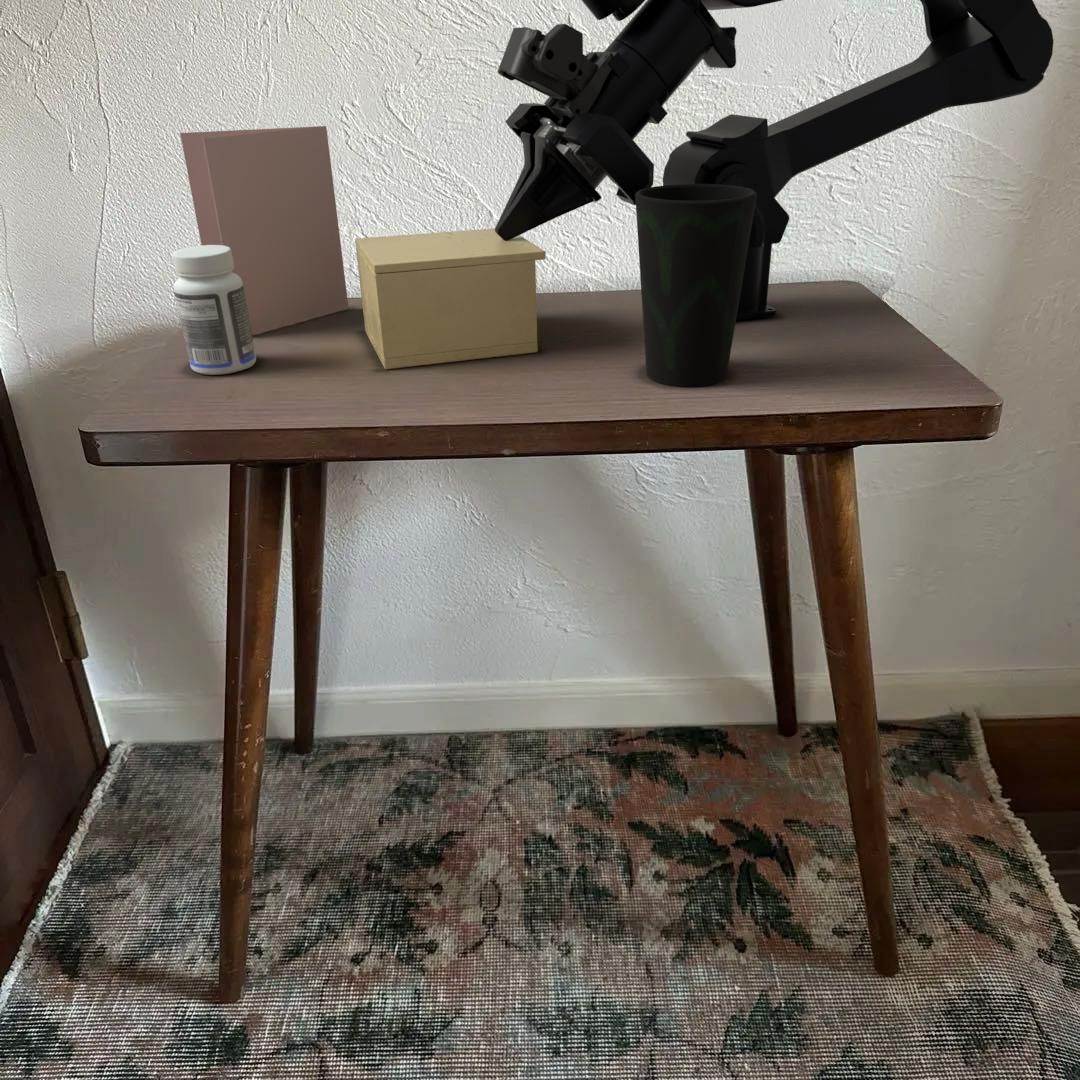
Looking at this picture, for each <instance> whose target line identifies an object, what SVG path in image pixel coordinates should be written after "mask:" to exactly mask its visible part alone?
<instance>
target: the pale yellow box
mask: <svg viewBox="0 0 1080 1080" xmlns="http://www.w3.org/2000/svg"><path fill="white" fill-rule="evenodd" d="M355 249H356V250H355V252H356V261H357V269H358V279H359V287H360V295H361V296H360V297H361V306H362V312H363V313H362V314H363V322H364V330H365V334H366V335H367V337H368V339H369V341H370V343H371V345H372V347H373V349H374V351H375V353H376V355H377V356H378V359H379V360H380V362H381V364H382V366H383V368H384V370H393V369H401V368H410V367H419V366H427V365H428V366H429V365H436V364H437V365H438V364H444V363H454V362H462V361H463V362H464V361H471V360H480V359H488V358H497V357H499V358H500V357H507V356H516V355H525V354H532V353H533V354H534V353H538V351H539V350H538V318H537V317H538V313H537V312H538V311H537V310H538V309H537V276H536V274H537V273H536V260H532V261H520V262H508V263H496V264H484V265H472V266H460V267H448V268H436V269H424V270H412V271H400V272H388V273H376V274H375V273H374V271H373V270H372V269H371V267H370V266H369V264H368V263H367V261H366V260H365V259H364V257H363V256H362V254H361V253H360V251H359V250H358V248H357V247H356V246H355Z"/></svg>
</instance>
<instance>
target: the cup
mask: <svg viewBox="0 0 1080 1080" xmlns="http://www.w3.org/2000/svg"><path fill="white" fill-rule="evenodd" d="M756 197H757V194H756V193H755V191H754V190H752V189H749V188H745V187H739V186H731V185H719V184H678V185H664V186H663V185H657V186H652V187H650V188H645V189H642V190H639V191H638V192H637V193H636V194H635V200H636V205H635V215H636V228H637V229H636V230H637V245H638V260H639V274H640V276H639V277H640V291H641V292H640V293H641V306H642V308H641V309H642V323H643V337H644V340H643V341H644V355H645V372H646V377H648V379H650V380H651V381H653V382H656V383H658V384H661V385H666V386H672V387H681V388H682V387H683V388H688V387H689V388H696V387H705V386H710V385H715V384H718V383H720V382H722V381H724V380H725V379H726V378H727V376H728V370H729V364H730V358H731V351H732V348H733V347H732V346H733V341H734V335H735V328H736V324H737V323H736V322H737V320H736V317H737V311H738V305H739V299H740V293H741V287H742V281H743V275H744V269H745V263H746V257H747V251H748V245H749V239H750V233H751V227H752V221H753V215H754V209H755V203H756Z"/></svg>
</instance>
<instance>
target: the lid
mask: <svg viewBox="0 0 1080 1080" xmlns="http://www.w3.org/2000/svg"><path fill="white" fill-rule="evenodd" d="M354 243H355V248H356V247H357V248H358V250H359V251H360V253H361V254H362V256H363V257H364V259H365V260H366V261H367V263H368V264H369V266H370V267H371V269H372V270H373V271H374V273H375V274H376V273H388V272H400V271H412V270H424V269H436V268H448V267H460V266H472V265H484V264H496V263H508V262H520V261H532V260H535V261H543V260H546V258H547V255H546V254H547V251H546V250H544V249H542V248H541V247H540V246H538V245H537V244H535V243H533V242H531V241H530V240H528V239H527V238H525V237H524V236H522V235H519V236H517V237H514V238H512V239H510V240H508V241H505V240H503V239H502V238H501V237H500V236H499V235H498V234H497V233H496V232H495V227H494V228H482V229H481V228H479V229H468V230H467V229H466V230H454V231H439V232H426V233H412V234H398V235H386V236H376V237H375V236H374V237H359V238H358V237H357V238H355V239H354Z"/></svg>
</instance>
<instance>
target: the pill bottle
mask: <svg viewBox="0 0 1080 1080" xmlns="http://www.w3.org/2000/svg"><path fill="white" fill-rule="evenodd" d="M171 256H172V262H173V269H174V271H175V274H176V276H178V277H179V278H177V280H176V281H175V282H174V284H173V293H174V298H175V301H176V307H177V311H178V316H179V320H180V324H181V325H180V326H181V330H182V334H183V337H184V338H183V339H184V342H185V343H184V344H185V349H186V353H187V357H188V362H189V365H190V368H191V370H192V371H194V372H195V373H198V374H201V375H207V376H220V375H228V374H229V375H230V374H233V373H237V372H242V371H244V370H247V369H249V368H252V367H254V365H255V363H256V362H257V354H256V350H255V343H254V337H253V335H252V331H251V325H250V320H249V315H248V310H247V304H246V299H245V293H244V287H243V283H242V280H241V278H240V277H239V276H238V275H237V274H235V273H233V272H232V270H233V269H234V262H233V257H232V252H231V249H230V248H229V247H227V246H222V245H193V246H188V247H184V248H179V249H177V250H175V251H172V254H171Z"/></svg>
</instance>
